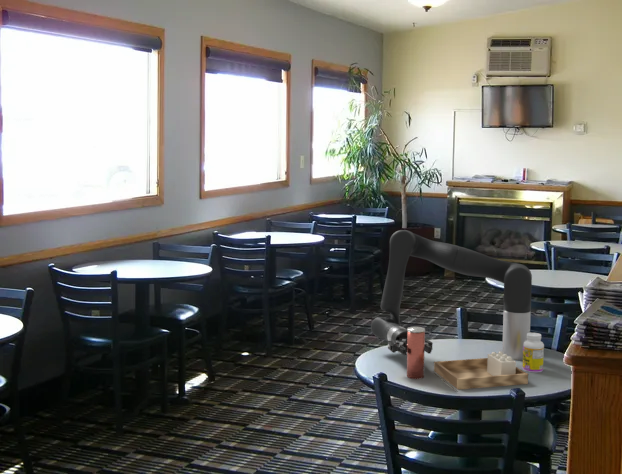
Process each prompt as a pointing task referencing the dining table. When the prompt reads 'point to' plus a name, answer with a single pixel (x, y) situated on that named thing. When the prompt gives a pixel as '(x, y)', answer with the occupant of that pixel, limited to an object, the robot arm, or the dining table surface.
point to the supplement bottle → (533, 353)
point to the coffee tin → (415, 352)
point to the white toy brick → (500, 364)
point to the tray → (475, 374)
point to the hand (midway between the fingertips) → (417, 351)
